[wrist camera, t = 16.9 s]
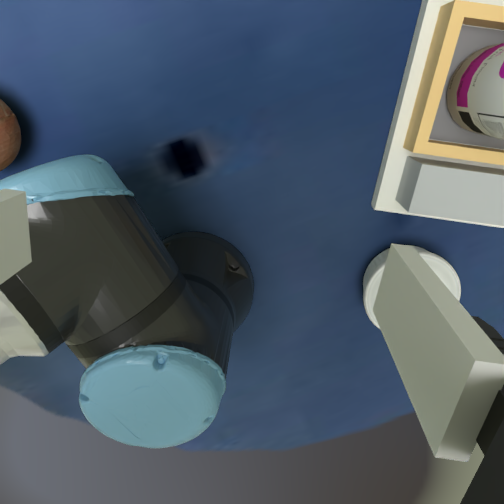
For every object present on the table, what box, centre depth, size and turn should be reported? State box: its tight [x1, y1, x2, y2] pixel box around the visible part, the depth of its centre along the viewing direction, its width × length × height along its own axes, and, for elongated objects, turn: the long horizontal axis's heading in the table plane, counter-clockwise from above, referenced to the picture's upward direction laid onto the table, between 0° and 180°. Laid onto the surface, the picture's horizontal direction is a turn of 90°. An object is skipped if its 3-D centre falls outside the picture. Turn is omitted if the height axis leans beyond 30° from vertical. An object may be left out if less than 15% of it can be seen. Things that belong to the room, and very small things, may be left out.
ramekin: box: [363, 245, 461, 330], centre depth 50 cm, size 11×11×5 cm
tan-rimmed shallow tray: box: [371, 0, 504, 228], centre depth 42 cm, size 22×16×7 cm
